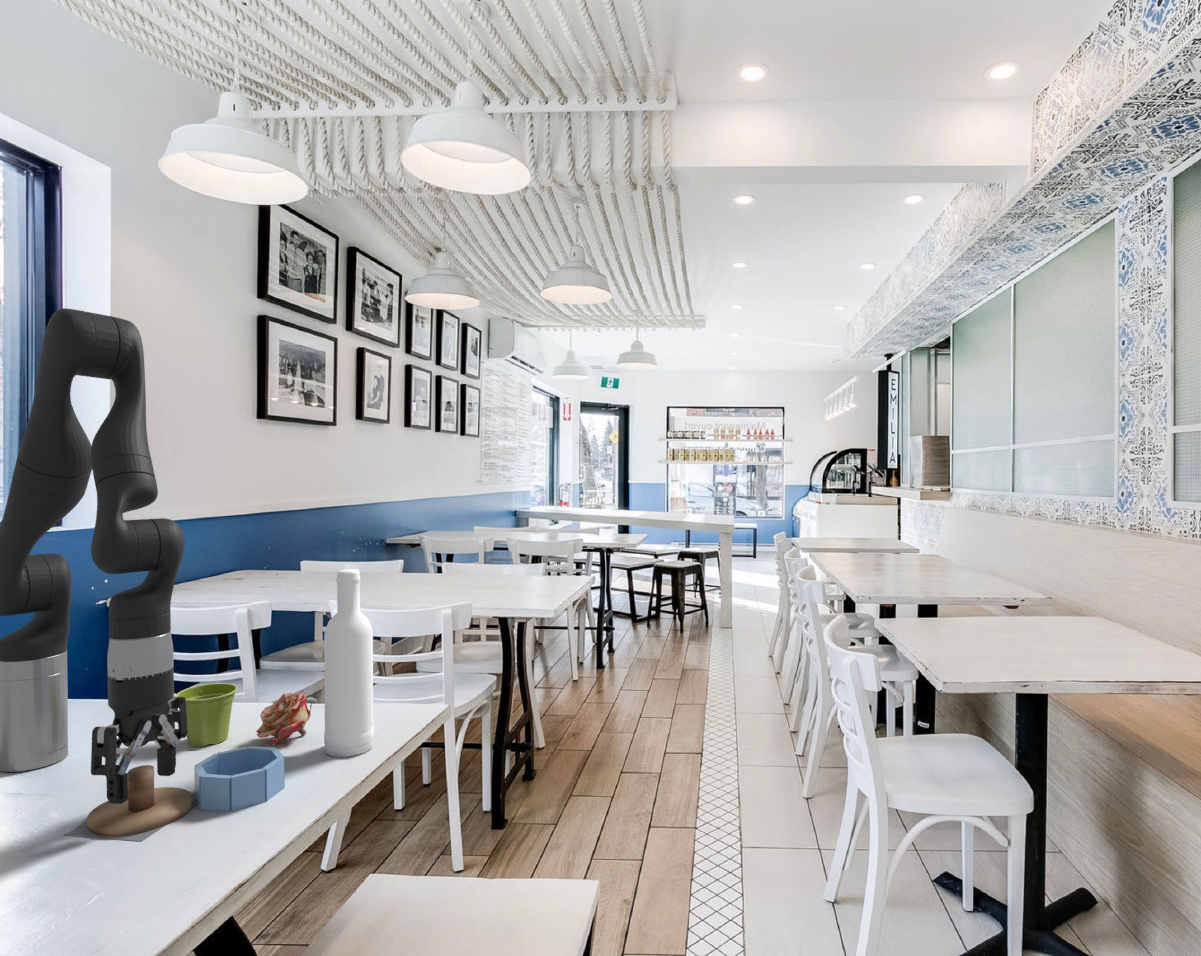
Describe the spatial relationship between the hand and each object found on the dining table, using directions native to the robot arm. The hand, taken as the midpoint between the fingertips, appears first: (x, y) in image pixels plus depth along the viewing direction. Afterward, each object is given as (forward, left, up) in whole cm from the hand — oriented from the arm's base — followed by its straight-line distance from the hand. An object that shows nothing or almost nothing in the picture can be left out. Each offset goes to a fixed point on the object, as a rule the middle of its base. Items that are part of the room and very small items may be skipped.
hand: (143, 788), depth 98 cm
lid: (0, 0, -4) cm, 4 cm away
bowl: (+9, +8, -4) cm, 12 cm away
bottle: (+16, +27, -4) cm, 32 cm away
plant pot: (-10, +27, -4) cm, 29 cm away
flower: (+3, +29, -4) cm, 30 cm away
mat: (0, 0, -4) cm, 4 cm away
